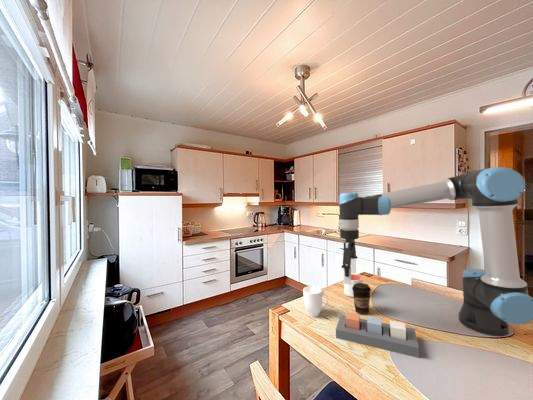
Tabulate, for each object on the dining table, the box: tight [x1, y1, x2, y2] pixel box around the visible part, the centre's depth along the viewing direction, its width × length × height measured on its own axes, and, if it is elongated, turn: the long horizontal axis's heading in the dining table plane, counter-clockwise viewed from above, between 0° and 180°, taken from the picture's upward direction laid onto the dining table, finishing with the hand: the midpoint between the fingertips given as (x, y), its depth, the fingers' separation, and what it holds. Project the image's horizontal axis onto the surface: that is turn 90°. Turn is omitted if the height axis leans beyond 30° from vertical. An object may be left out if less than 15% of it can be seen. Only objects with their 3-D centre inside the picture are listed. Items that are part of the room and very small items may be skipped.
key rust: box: [345, 311, 361, 330], centre depth 93 cm, size 5×5×5 cm
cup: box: [343, 273, 363, 299], centre depth 128 cm, size 10×10×10 cm
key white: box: [389, 320, 406, 340], centre depth 86 cm, size 5×5×5 cm
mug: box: [302, 285, 329, 318], centre depth 109 cm, size 12×9×12 cm
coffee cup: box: [352, 282, 372, 315], centre depth 109 cm, size 9×8×13 cm
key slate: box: [366, 315, 383, 335], centre depth 90 cm, size 5×5×5 cm
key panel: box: [335, 314, 420, 359], centre depth 90 cm, size 28×12×4 cm, turn 63°
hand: (350, 278), depth 97 cm, fingers open, 13 cm apart
